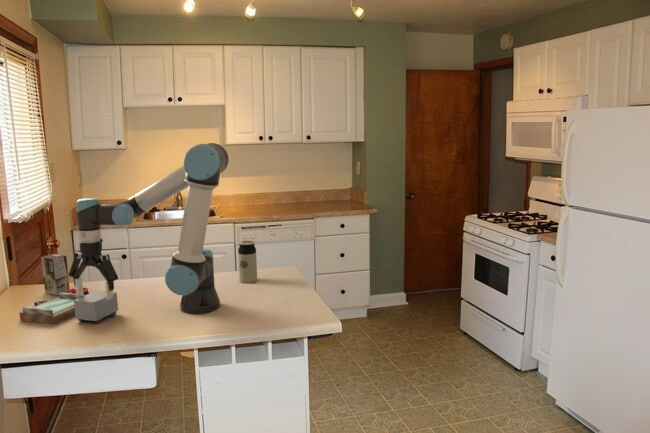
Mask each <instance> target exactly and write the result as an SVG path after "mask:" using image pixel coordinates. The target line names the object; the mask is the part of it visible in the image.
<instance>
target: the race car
mask: <svg viewBox="0 0 650 433" xmlns="http://www.w3.org/2000/svg"><path fill="white" fill-rule="evenodd" d="M66 293H71V294H76V287H75V286H74V287H72V288H70V290H69V291H68V292H66ZM88 294H90V293H89V289H88V288H87V287H86V286H83V295H88Z"/></svg>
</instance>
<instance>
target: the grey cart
mask: <svg viewBox="0 0 650 433" xmlns="http://www.w3.org/2000/svg"><path fill="white" fill-rule="evenodd" d="M117 293H118V292H117V291H116V292H115V291H113V298H112V299H109V300H107V297H106V290H105V291H103V290H95V291H93V292H91V293H88V294H87V295H85V296H83V297H81V298H78V299H76V300H74V306H75V315H74V316H75V319H76V320H77V321H78V322H84V321H91V322H92V321H93V323H94V324H101V322H102V321H103V319H104V318H105V317H108V316H112V317H114V316H116V315H117V313H118V311H119V305H118V294H117Z"/></svg>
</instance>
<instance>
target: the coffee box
mask: <svg viewBox="0 0 650 433" xmlns="http://www.w3.org/2000/svg"><path fill="white" fill-rule="evenodd" d="M40 259H41V261H40V262H41V269H42V277H43V284H44V293H45V294H48V295H53V296H59V293H66V292H68V291H69V290H70V289H71V288H70V281H69V280H70V279H69V269H68V258H67V255H63V254H57V253H51V254H48V255H44V256H40Z"/></svg>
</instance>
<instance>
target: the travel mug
mask: <svg viewBox="0 0 650 433" xmlns="http://www.w3.org/2000/svg"><path fill="white" fill-rule="evenodd" d="M237 244H238V246H239V247H238V249H237V251H238V252H237V256H238V257H237V258H238V273H239V274H238V276H239V279H238V280H239V282H240V283H244V284H252V283H255V282H257V281H258V270H257V269H258V267H257V248H256V246H255V244H256V241H255V240H251V239H250V240H249V239H248V240H247V239H245V240H240V241H239V242H237Z"/></svg>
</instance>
